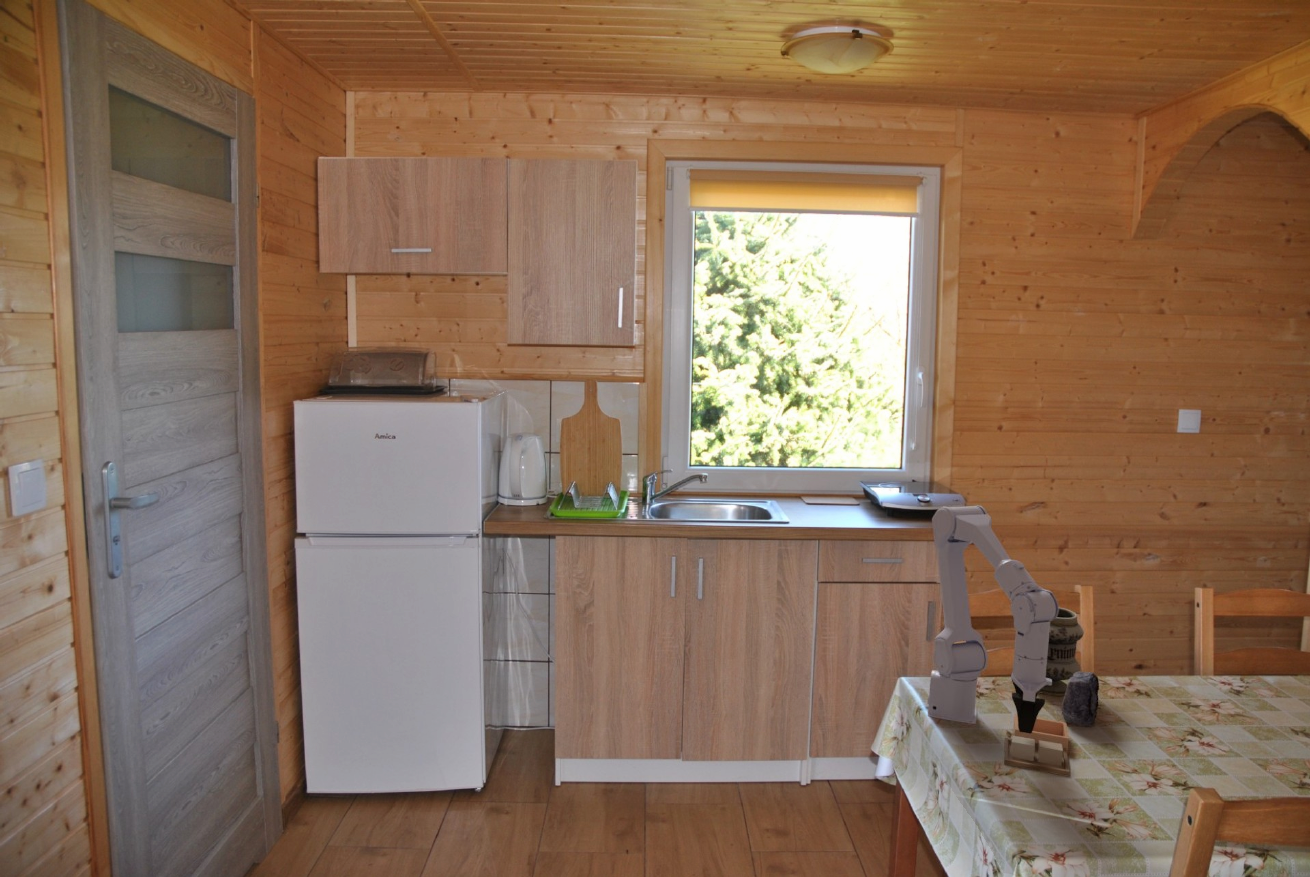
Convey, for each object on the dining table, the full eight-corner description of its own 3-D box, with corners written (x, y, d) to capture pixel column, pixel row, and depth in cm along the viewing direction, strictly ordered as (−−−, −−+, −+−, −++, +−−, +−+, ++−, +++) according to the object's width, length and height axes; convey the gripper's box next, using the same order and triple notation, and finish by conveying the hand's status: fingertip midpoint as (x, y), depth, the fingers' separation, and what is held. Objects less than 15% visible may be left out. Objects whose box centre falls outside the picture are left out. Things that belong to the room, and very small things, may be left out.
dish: (1013, 744, 179) (1015, 729, 179) (1013, 729, 186) (1014, 714, 186) (1067, 754, 176) (1068, 738, 175) (1064, 738, 183) (1066, 722, 182)
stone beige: (1038, 762, 171) (1039, 746, 171) (1037, 755, 174) (1038, 740, 174) (1061, 766, 170) (1062, 750, 170) (1060, 759, 173) (1061, 744, 172)
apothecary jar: (1066, 703, 200) (1073, 623, 198) (1012, 686, 208) (1018, 610, 206) (1085, 688, 209) (1093, 612, 207) (1032, 673, 217) (1039, 599, 215)
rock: (1088, 733, 185) (1092, 684, 184) (1059, 725, 189) (1063, 677, 188) (1100, 717, 193) (1104, 670, 192) (1072, 710, 197) (1076, 663, 196)
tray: (1004, 766, 170) (1004, 759, 170) (1004, 743, 179) (1004, 737, 179) (1068, 778, 166) (1069, 771, 166) (1065, 754, 176) (1066, 748, 175)
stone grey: (1010, 757, 173) (1011, 741, 173) (1010, 750, 176) (1011, 735, 175) (1033, 761, 172) (1034, 745, 171) (1033, 754, 174) (1034, 739, 174)
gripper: (1055, 671, 163) (1049, 743, 165) (1052, 645, 177) (1046, 712, 178) (1013, 664, 166) (1007, 736, 167) (1012, 640, 179) (1007, 706, 181)
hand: (1024, 723), depth 173 cm, fingers open, 7 cm apart
